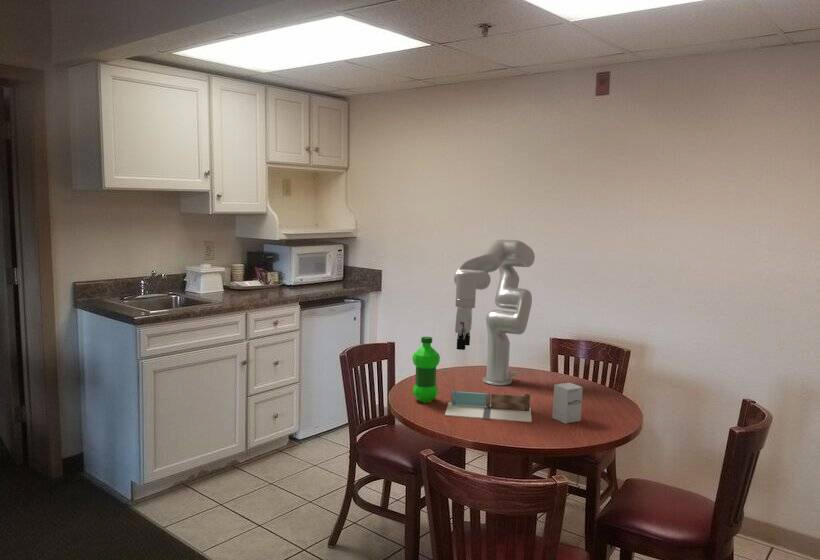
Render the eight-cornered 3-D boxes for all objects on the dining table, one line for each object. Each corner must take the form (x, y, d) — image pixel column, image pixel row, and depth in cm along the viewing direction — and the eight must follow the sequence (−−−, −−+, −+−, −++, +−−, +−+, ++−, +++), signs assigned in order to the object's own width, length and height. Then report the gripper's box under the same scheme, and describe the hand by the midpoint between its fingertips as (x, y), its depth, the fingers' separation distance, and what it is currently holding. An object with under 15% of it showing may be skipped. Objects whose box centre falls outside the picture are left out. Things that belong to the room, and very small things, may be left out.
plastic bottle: (406, 399, 241) (408, 336, 238) (427, 394, 247) (429, 333, 244) (422, 406, 233) (424, 341, 230) (443, 401, 239) (445, 338, 237)
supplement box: (565, 424, 216) (567, 389, 215) (551, 417, 223) (553, 384, 222) (581, 421, 220) (583, 387, 218) (567, 415, 226) (569, 381, 225)
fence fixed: (529, 409, 230) (530, 394, 230) (529, 411, 228) (530, 395, 228) (490, 406, 233) (491, 391, 232) (490, 408, 231) (491, 392, 230)
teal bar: (489, 405, 233) (490, 393, 232) (489, 407, 231) (490, 394, 230) (451, 402, 235) (451, 390, 235) (451, 404, 233) (451, 392, 233)
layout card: (530, 408, 232) (530, 407, 232) (531, 423, 217) (531, 421, 217) (449, 403, 237) (449, 401, 237) (444, 416, 222) (444, 415, 222)
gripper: (460, 300, 245) (457, 342, 246) (451, 305, 228) (449, 350, 230) (478, 301, 243) (476, 344, 244) (471, 306, 226) (468, 352, 228)
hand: (463, 347), depth 237 cm, fingers open, 9 cm apart
